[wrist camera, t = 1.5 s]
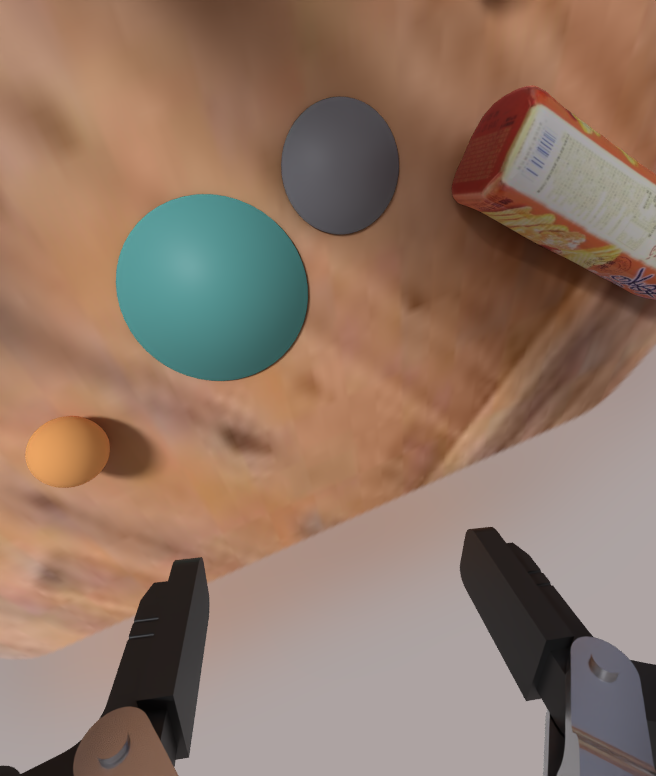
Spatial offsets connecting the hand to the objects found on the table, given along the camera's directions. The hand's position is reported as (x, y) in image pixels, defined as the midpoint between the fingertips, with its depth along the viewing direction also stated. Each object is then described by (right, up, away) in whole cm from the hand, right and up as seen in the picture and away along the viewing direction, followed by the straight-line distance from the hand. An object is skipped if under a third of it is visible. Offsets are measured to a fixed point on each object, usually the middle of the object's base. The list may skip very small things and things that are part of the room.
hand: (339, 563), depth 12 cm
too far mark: (+1, +20, +15) cm, 25 cm away
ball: (-19, +1, +16) cm, 25 cm away
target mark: (-8, +12, +16) cm, 22 cm away
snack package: (+18, +19, +19) cm, 33 cm away
